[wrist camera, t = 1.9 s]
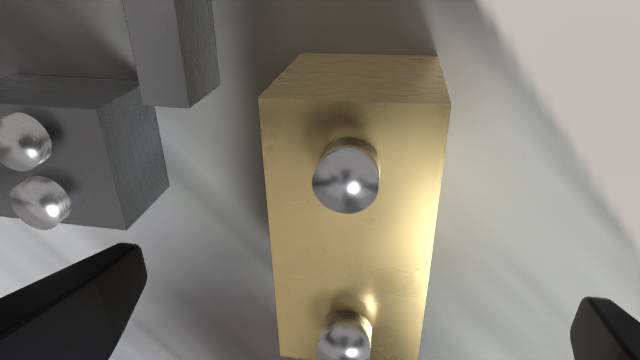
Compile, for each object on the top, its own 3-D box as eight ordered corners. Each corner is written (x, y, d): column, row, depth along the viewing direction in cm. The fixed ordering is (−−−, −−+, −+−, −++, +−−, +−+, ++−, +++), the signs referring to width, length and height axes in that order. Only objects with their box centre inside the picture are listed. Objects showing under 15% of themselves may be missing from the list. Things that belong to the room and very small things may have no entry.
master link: (413, 270, 14) (416, 404, 10) (309, 260, 15) (272, 382, 11) (437, 54, 11) (455, 120, 7) (302, 51, 12) (244, 112, 7)
